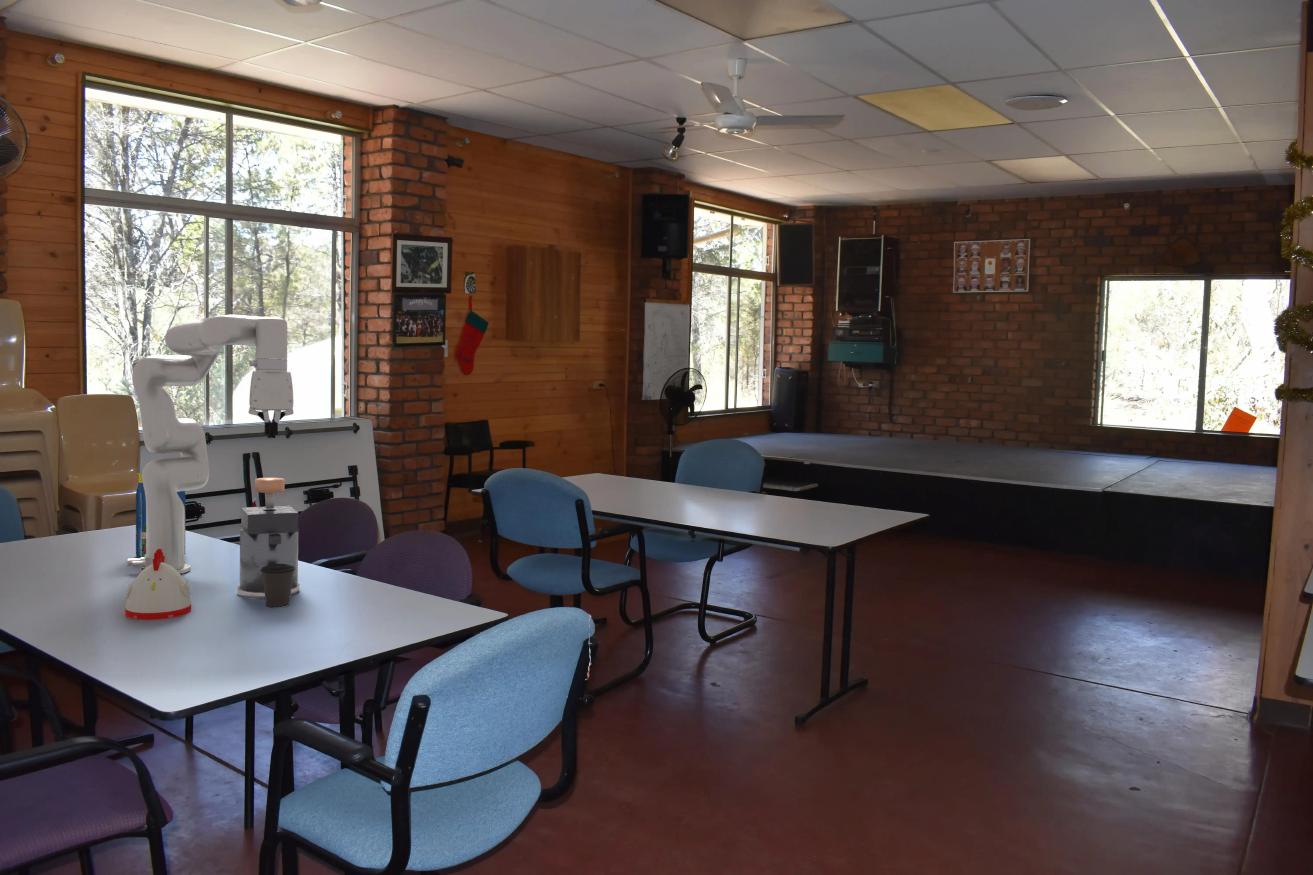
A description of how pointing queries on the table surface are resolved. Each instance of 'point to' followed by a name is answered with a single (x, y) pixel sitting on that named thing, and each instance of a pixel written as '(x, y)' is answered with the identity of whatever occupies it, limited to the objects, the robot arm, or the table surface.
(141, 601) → the kitchen timer
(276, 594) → the coffee cup
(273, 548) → the airpot
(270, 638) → the table surface
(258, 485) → the button
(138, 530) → the blue food package
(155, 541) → the robot arm
